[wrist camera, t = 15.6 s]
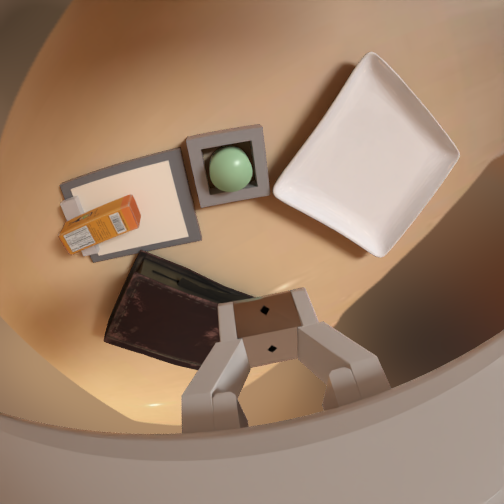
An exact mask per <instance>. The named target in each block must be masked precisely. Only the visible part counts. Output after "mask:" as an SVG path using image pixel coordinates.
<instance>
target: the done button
mask: <svg viewBox="0 0 504 504" xmlns="http://www.w3.org/2000/svg"><path fill="white" fill-rule="evenodd" d="M209 167H210V179H211V181H212V183H213V184H214V185H215V186H216V187H217V188H218V189H220V190H222V191H225V192H235V191H239V190H241V189H243V188H244V187H245V186H246V185H247V184H248V183H249V182H250V180H251V177H252V166H251V163H250V161H249V159H248V157H247V155H246V154H245V152H244V151H243V150H242V149H240V148H238V147H236V146H223V147H221V148H219V149H218V150H216V151H215V152H214V153H213V155H212V156H211V159H210V164H209Z"/></svg>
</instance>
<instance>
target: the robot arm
mask: <svg viewBox="0 0 504 504" xmlns="http://www.w3.org/2000/svg"><path fill="white" fill-rule="evenodd" d="M218 320H219V334H220V342H218V343H215V345H214V346H213V348H212V350H211V351H210V353H209V354H208V356H207V357H206V359H205V361H204V362H203V364H202V365H201V367H200V368H199V370H198V371H197V373H196V374H195V376H194V378H193V379H192V381H191V382H190V384H189V385H188V387H187V388H186V390H185V391H184V393H183V394H182V433H179V434H131V433H112V432H100V431H91V430H81V429H75V428H68V427H62V426H55V425H50V424H45V423H40V422H36V421H31V420H27V419H23V418H19V417H15V416H11V415H8V414H5V413H1V412H0V504H504V330H503V331H501V332H500V333H499V334H497V335H495V336H494V337H492V338H491V339H489V340H488V341H486V342H484V343H483V344H481V345H479V346H478V347H476V348H474V349H473V350H471V351H469V352H468V353H466V354H464V355H462V356H460V357H459V358H457V359H455V360H453V361H451V362H449V363H447V364H445V365H443V366H441V367H439V368H438V369H435V370H433V371H431V372H429V373H427V374H425V375H423V376H420V377H418V378H416V379H414V380H412V381H409V382H407V383H404V384H402V385H400V386H397V387H395V388H392V389H391V387H390V385H389V382H388V380H387V378H386V376H385V374H384V371H383V369H382V367H381V365H380V363H379V361H378V358H377V357H376V355H374V354H372V353H371V352H369V351H368V350H366V349H364V348H363V347H362V346H360V345H358V344H357V343H355V342H354V341H352V340H351V339H349V338H348V337H346V336H345V335H343V334H342V333H340V332H338V331H337V330H335V329H334V328H332V327H331V326H329V325H328V324H326V323H325V322H319V321H318V319H317V316H316V314H315V311H314V309H313V306H312V304H311V301H310V299H309V296H308V294H307V291H306V289H305V288H304V287H303V288H298V289H294V290H290V291H284V292H280V293H275V294H270V295H265V296H261V297H256V298H250V299H244V300H237V301H233V302H226V303H220V304H218ZM297 358H298V360H300V361H301V362H302V363H303V364H304V365H305V366H306V367H307V368H308V369H309V370H311V371H312V372H313V373H314V374H315V375H316V376H317V377H318V378H320V379H321V380H322V381H323V382H324V383H325V384H326V385H327V387H326V391H325V396H324V400H323V404H322V405H323V409H324V411H322V412H319V413H315V414H311V415H307V416H302V417H298V418H294V419H289V420H284V421H279V422H274V423H269V424H264V425H257V426H251V427H249V426H248V420H247V418H246V416H245V414H244V412H243V410H242V408H241V406H240V404H239V402H238V396H239V394H240V392H241V390H242V388H243V385H244V383H245V381H246V379H247V377H248V374H249V372H250V370H251V369H250V368H252V367H257V366H262V365H267V364H271V363H276V362H282V361H287V360H292V359H297Z"/></svg>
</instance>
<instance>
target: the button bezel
mask: <svg viewBox="0 0 504 504" xmlns="http://www.w3.org/2000/svg"><path fill="white" fill-rule="evenodd" d="M245 141H250V146H251V154H252V161H253V169H254V176H255V181H250V182H249V183H248V184H247V185H246V186H245V187H244V188H243V189H241V190H239V191H235V192H225V191H222V190H220V189H218V188H217V187H216V188H211V189H210V187H209V182H208V178H207V173H206V168H205V163H204V158H203V153H202V149H206V148H211V147H216V146H221V145H227V144H233V143H239V142H245ZM186 143H187V148H188V153H189V157H190V162H191V167H192V171H193V176H194V180H195V184H196V189H197V193H198V197H199V202H200V206H201V208H203V207H208V206H213V205H218V204H223V203H229V202H234V201H240V200H245V199H251V198H257V197H262V196H268V195H270V188H269V178H268V169H267V161H266V152H265V143H264V135H263V127H262V126H261V125H260V124H257V125H250V126H243V127H237V128H231V129H225V130H219V131H214V132H209V133H204V134H199V135H194V136H189V137H187V139H186Z"/></svg>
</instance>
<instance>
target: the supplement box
mask: <svg viewBox="0 0 504 504" xmlns="http://www.w3.org/2000/svg"><path fill="white" fill-rule="evenodd" d="M140 219H141V214H140V211H139V209H138V206H137V204H136V201H135V199H134V197H133V195H131V194H130V195H127V196H124V197H122V198H119V199H117V200H114V201H112V202H109V203H107V204H104V205H102V206H100V207H97V208H95V209H93V210H90V211H88V212H86V213H84V214H82V215H79V216H77V217H75V218H73V219H71V220H69V221H67V222H65V224H64V226H63V229H62V231H61V232H60V233H59V234H58V237H59V239H60V240H61V242H62V244H63V246H64V247H65V249H66V250H67V252H68V253H69V254H70V255H72V254H74V253H77V252H79V251H81V250H84V249H86V248H89V247H91V246H94V245H96V244H99V243H101V242H104V241H106V240H109V239H111V238H114V237H116V236H119V235H121V234H124V233H127V232H129V231H132V230H135V229H137V228H139V225H140Z"/></svg>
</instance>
